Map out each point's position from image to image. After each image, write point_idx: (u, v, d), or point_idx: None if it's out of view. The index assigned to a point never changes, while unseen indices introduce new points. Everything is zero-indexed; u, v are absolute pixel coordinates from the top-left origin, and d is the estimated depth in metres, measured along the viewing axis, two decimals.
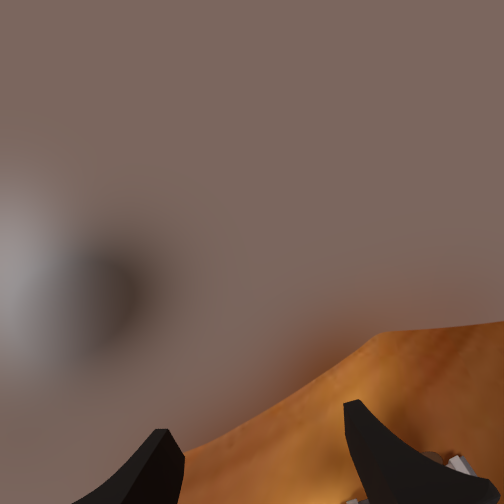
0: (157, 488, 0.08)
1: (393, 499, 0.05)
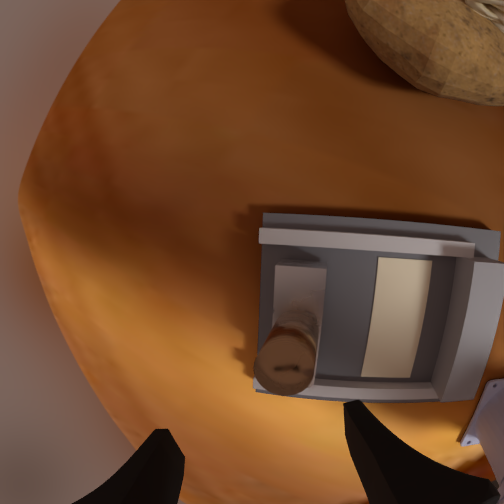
0: (157, 488, 0.08)
1: (393, 499, 0.05)
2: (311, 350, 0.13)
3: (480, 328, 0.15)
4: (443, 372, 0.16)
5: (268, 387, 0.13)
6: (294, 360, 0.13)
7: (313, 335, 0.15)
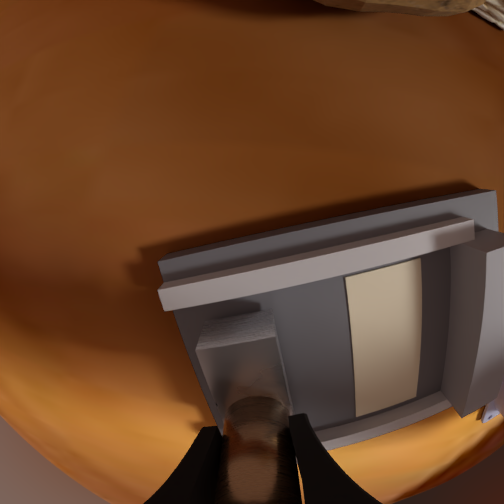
0: (212, 489, 0.08)
1: None
2: (289, 481, 0.07)
3: (499, 329, 0.10)
4: (458, 385, 0.12)
5: None
6: None
7: (284, 442, 0.09)
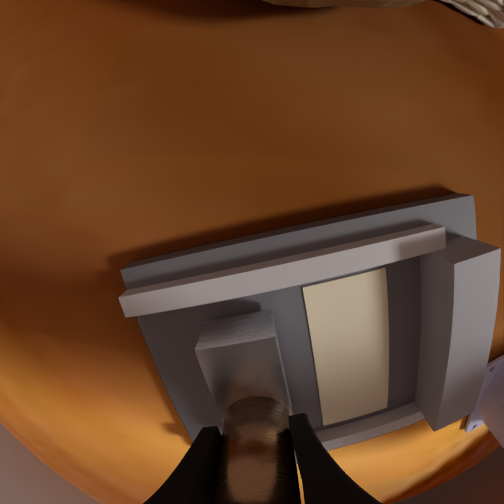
0: (212, 489, 0.08)
1: None
2: (288, 481, 0.07)
3: (472, 343, 0.11)
4: (430, 398, 0.13)
5: None
6: None
7: (283, 442, 0.09)
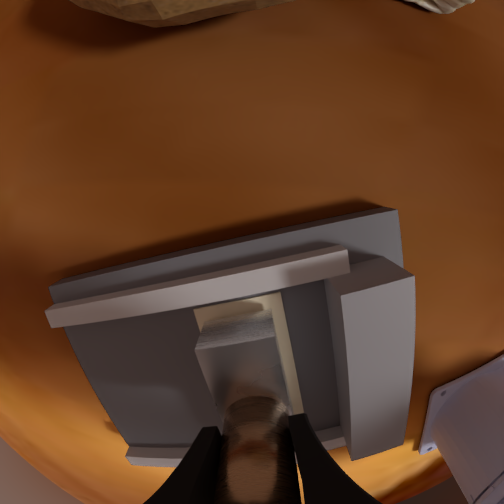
0: (212, 489, 0.08)
1: None
2: (288, 481, 0.07)
3: (382, 378, 0.11)
4: (346, 427, 0.13)
5: None
6: None
7: (283, 442, 0.09)
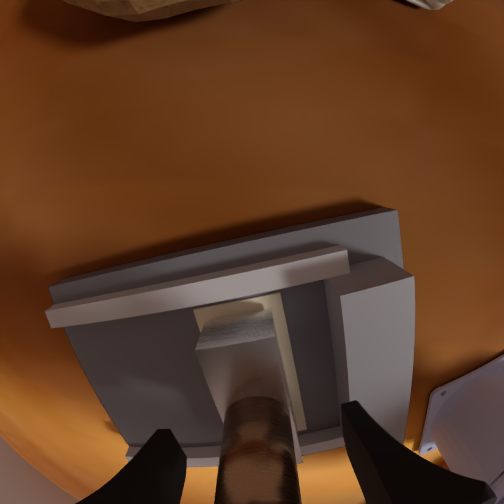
0: (160, 488, 0.08)
1: (389, 501, 0.05)
2: (288, 481, 0.07)
3: (382, 378, 0.11)
4: None
5: None
6: None
7: (284, 442, 0.09)
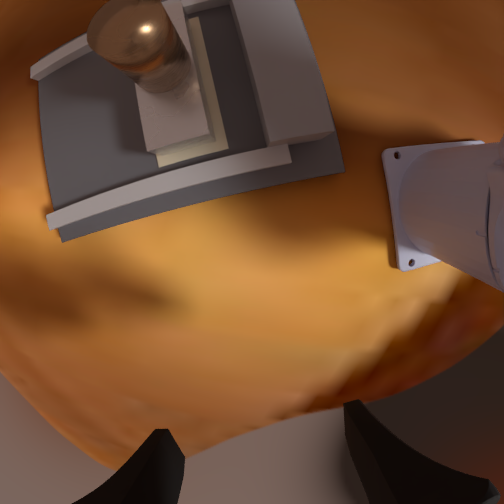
0: (157, 488, 0.08)
1: (393, 499, 0.05)
2: None
3: (273, 29, 0.11)
4: (260, 109, 0.13)
5: (107, 50, 0.07)
6: (133, 3, 0.07)
7: None
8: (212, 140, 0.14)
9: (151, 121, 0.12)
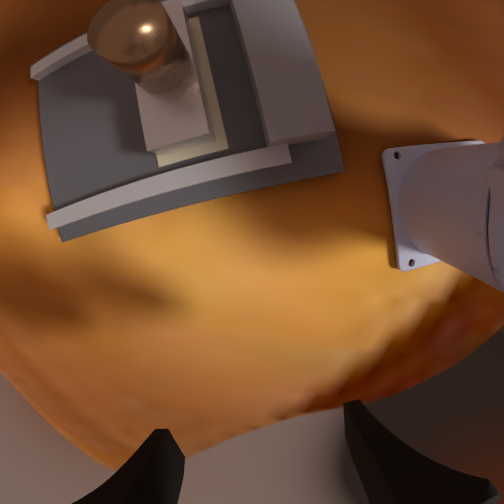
0: (157, 488, 0.08)
1: (393, 499, 0.05)
2: None
3: (273, 29, 0.11)
4: (260, 108, 0.13)
5: (107, 49, 0.07)
6: (133, 3, 0.07)
7: None
8: (212, 140, 0.14)
9: (151, 121, 0.12)
